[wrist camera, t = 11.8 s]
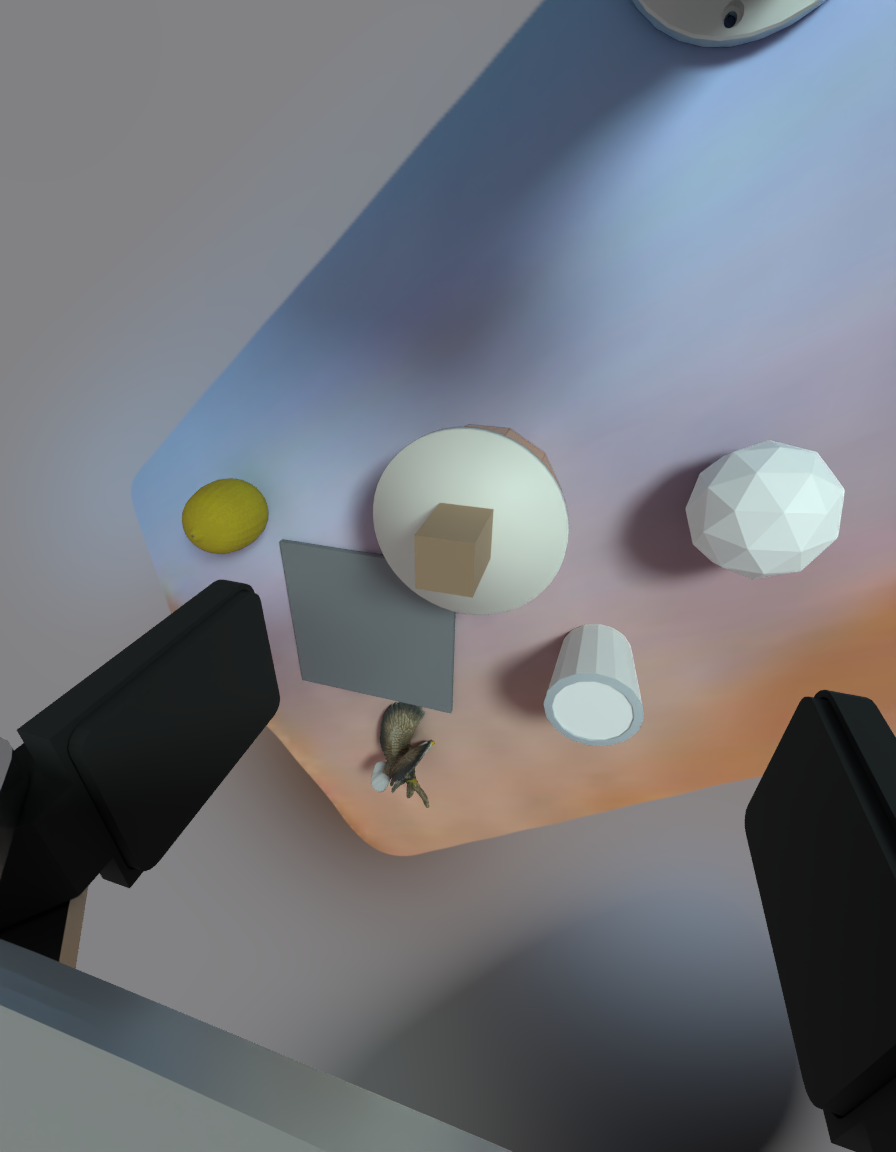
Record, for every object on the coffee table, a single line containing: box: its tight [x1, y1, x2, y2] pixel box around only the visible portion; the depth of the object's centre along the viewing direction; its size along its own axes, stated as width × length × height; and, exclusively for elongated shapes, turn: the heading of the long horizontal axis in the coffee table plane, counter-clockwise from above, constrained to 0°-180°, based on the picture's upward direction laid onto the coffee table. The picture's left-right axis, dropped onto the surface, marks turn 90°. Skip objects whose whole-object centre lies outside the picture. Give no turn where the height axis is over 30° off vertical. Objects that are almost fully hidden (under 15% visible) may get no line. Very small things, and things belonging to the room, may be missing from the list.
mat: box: [280, 540, 455, 713], centre depth 47 cm, size 16×16×1 cm
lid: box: [373, 427, 569, 615], centre depth 31 cm, size 13×13×6 cm
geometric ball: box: [686, 440, 845, 579], centre depth 30 cm, size 8×8×8 cm
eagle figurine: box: [371, 702, 435, 808], centre depth 51 cm, size 8×7×9 cm
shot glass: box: [544, 624, 644, 746], centre depth 39 cm, size 7×7×7 cm
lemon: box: [182, 478, 268, 554], centre depth 40 cm, size 6×6×8 cm
